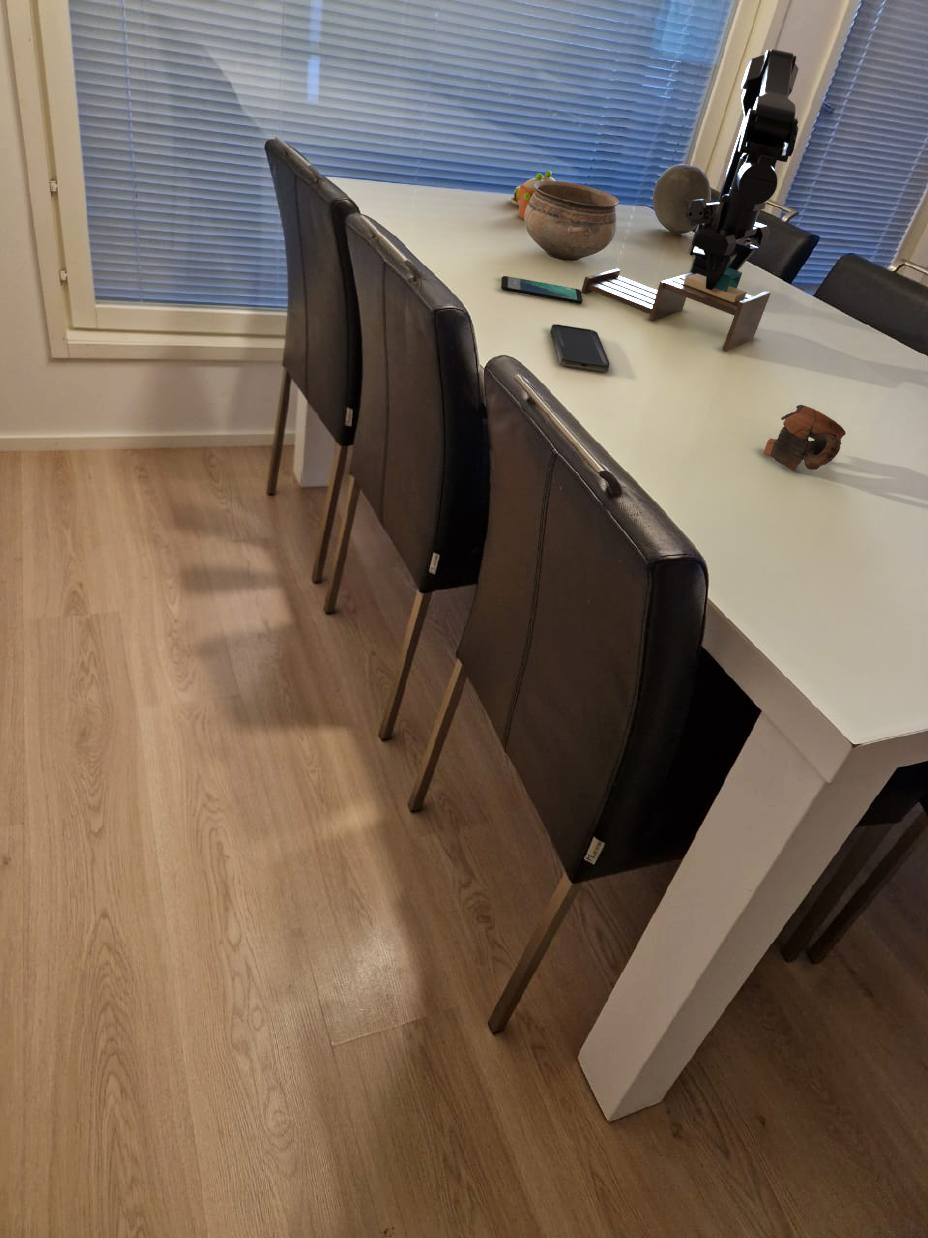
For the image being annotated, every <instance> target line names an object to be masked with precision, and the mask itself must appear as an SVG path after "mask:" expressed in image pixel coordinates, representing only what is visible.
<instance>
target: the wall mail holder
mask: <svg viewBox="0 0 928 1238" xmlns="http://www.w3.org/2000/svg"><path fill="white" fill-rule="evenodd" d="M742 275H743V271H740V270H738V271H737V270H734V269H731V268H729V267H728V268H727V270H726V271H725V272H724V274H723V275H722V277H721V278H720V280H719V281H718V283H717V284H716V285H715V287H714V288H713V289H712V290H708V289H706V277H705V276H703V275H700V274H694V275H691V276H687V277H686V278H685V281H684V284H686V285H688V286H691V287H694V288H696V289H699V290H702V291H704V292H707V293H709V294H712V295H715V296H717V297H720V298H723V299H725V300H728V301H731V302H733V303H734V302H737V301H740V300H742V299H745V296H746V294H748V292H747V291H745V290H743V289H741V288H738V286H739V284H740V281H741V278H742Z"/></svg>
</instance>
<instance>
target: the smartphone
mask: <svg viewBox="0 0 928 1238" xmlns="http://www.w3.org/2000/svg"><path fill="white" fill-rule="evenodd" d="M500 281H501V282H500V289H501V291H504V292H509V293H513V294H521V295H524V296H525V295H526V296H532V297H536V298H537V297H538V298H542V299H547V300H552V301H560V302H565V303H570V304H575V305H576V304H577V305H582V303H583V301H584V300H583V294H582V293H581V291H582V290H581V289H579V288H575V287H569V286H564V285H560V284H559V285H558V284H552V283H547V282H541V281H536V280H530V279H526V278H519V277H513V276H507V275H503V276H501V279H500Z"/></svg>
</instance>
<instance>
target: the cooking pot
mask: <svg viewBox="0 0 928 1238" xmlns="http://www.w3.org/2000/svg"><path fill="white" fill-rule="evenodd" d="M534 187H535V189H536V190H535V192H534V193H533V195H532V196H531V198H530V200H529V202H528V204H527V207H526V209H525V214H524V219H523V220H524V226H525V229H526V232H527V233H528V235H529V237H530V238H531V239H532V240H533V241H534V242H535V243H536V244H537V246H539V247H540V248H541V249H542V250H543V251H544V252H545V253H546V254H547V255H548V256H549V257H551V258H554V259H556V260H560V261H566V262H576V261H579V260H581V259H584V258H587V257H590V256H593V255H595V254H597V253H599V252H601V251H604V250H605V249H606V248H607V247H608V246H609V245H610V243H611V242H612V241H613V239H614V237H615V235H616V232H617V211H616V207H617V206H618V205H619V204H620V200H619V199H618V198H617V197H616V196H614V195H613V194H610V193H609V192H606V191H603V190H601V189H598V188H595V187H591V186H588V185H584V184H579V183H575V182H569V181H563V180H555V181H552V180H543V181H537V182H535V183H534Z"/></svg>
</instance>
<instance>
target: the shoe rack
mask: <svg viewBox="0 0 928 1238" xmlns="http://www.w3.org/2000/svg"><path fill="white" fill-rule="evenodd" d="M620 274H621V269H619V268H615V269H614V268H613V269H611V270H607V271H604V272H600V273H599V272H598V273H595V274H591V275H588V276H585V277H584V278H583V283H582V286H581V290H580V291H581V295H588V294H590V293H596V294H598V295H600V296H603V297H606V298H608V299H611V300H613V301H615V302H618V303H621V304H623V305H625V306H628V307H631V308H634V309H636V310H638V311H641V312H643V313H646V314H648V315H649V318H648V322H651V323H654V322H656V321H659V320H661V319H662V320H663V319H664V318H667V317H670V316H673V315H676V314H679V313H682V312H683V310H684V307H685V303H686V301H687V299H690V300H692V301H695V302H697V303H700V304H703V305H705V306H708V307H711V308H713V309H715V310H719V311H721V312H723V313H727V314H729V315H731V316H733V318H732V320H731V324H730V326H729V329H728V331H727V334H726V337H725V341H724V343H723V346H722V348H721V351H723V352H725V353H726V352H729V351H731V350H733V349H735V348H738V347H740V346H741V345H744V344H746V343H748V342H750V341H752V340H754V339H755V335H756V333H757V330H758V328H759V325H760V323H761V320H762V317H763V315H764V311H765V309H766V306H767V304H768V302H769V299H770V297H771V291H763V292H761V293H759V294H756V295H754V296H753V295H751V294H748V293H746V296H745V299H742V300H740V301H737V302H734V303H733V302H731V301H728V300H725V299H723V298H720V297H717V296H715V295H712V294H709V293H707V292H704V291H702V290H699V289H696V288H694V287H691V286H688V285H686V284H684V281H685V278H686V277H687V276H691V275H694V274H693V273H690V272H687V273H685V274H681V275H678V276H675V277H672V278H668V279H665V280H662V281H661V280H660V281H659V284H658V288H657V289H654V288H652V287H649V286H647V285H644V284H642V283H639V282H636V281H633V280H631V279H629V278H626V277H623V276H621V275H620Z"/></svg>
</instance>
